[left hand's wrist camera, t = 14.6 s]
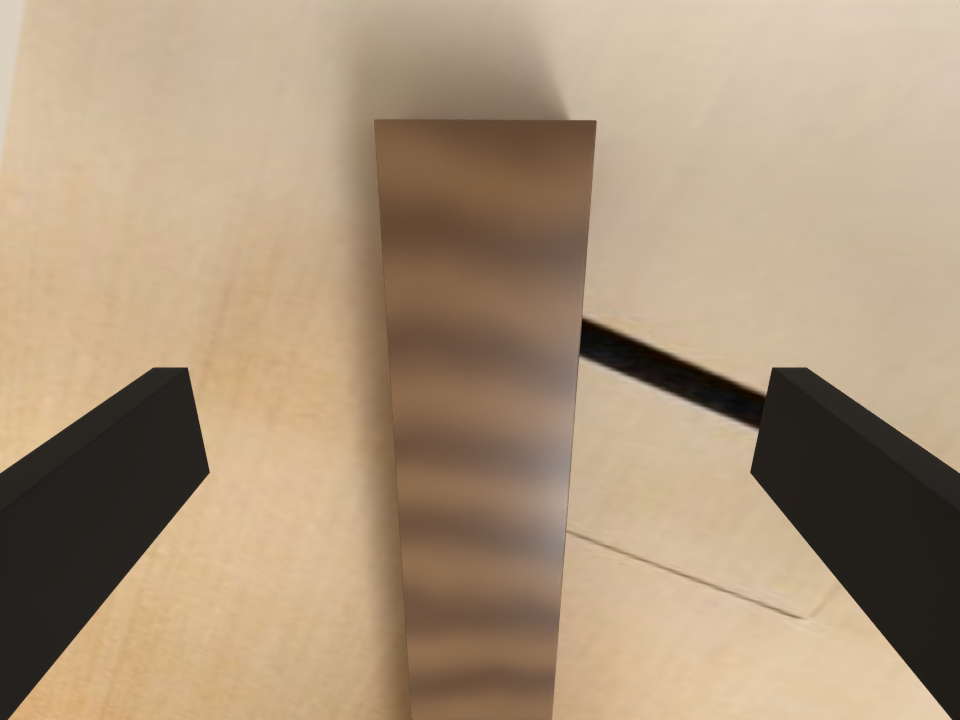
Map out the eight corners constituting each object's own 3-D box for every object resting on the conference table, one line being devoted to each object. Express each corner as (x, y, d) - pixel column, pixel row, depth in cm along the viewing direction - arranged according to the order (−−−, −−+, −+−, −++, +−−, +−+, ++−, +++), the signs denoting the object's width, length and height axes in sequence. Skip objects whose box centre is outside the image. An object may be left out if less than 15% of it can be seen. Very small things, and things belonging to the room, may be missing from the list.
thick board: (396, 124, 31) (374, 119, 24) (572, 124, 31) (596, 120, 24) (435, 922, 61) (429, 1017, 55) (524, 922, 61) (529, 1017, 55)
